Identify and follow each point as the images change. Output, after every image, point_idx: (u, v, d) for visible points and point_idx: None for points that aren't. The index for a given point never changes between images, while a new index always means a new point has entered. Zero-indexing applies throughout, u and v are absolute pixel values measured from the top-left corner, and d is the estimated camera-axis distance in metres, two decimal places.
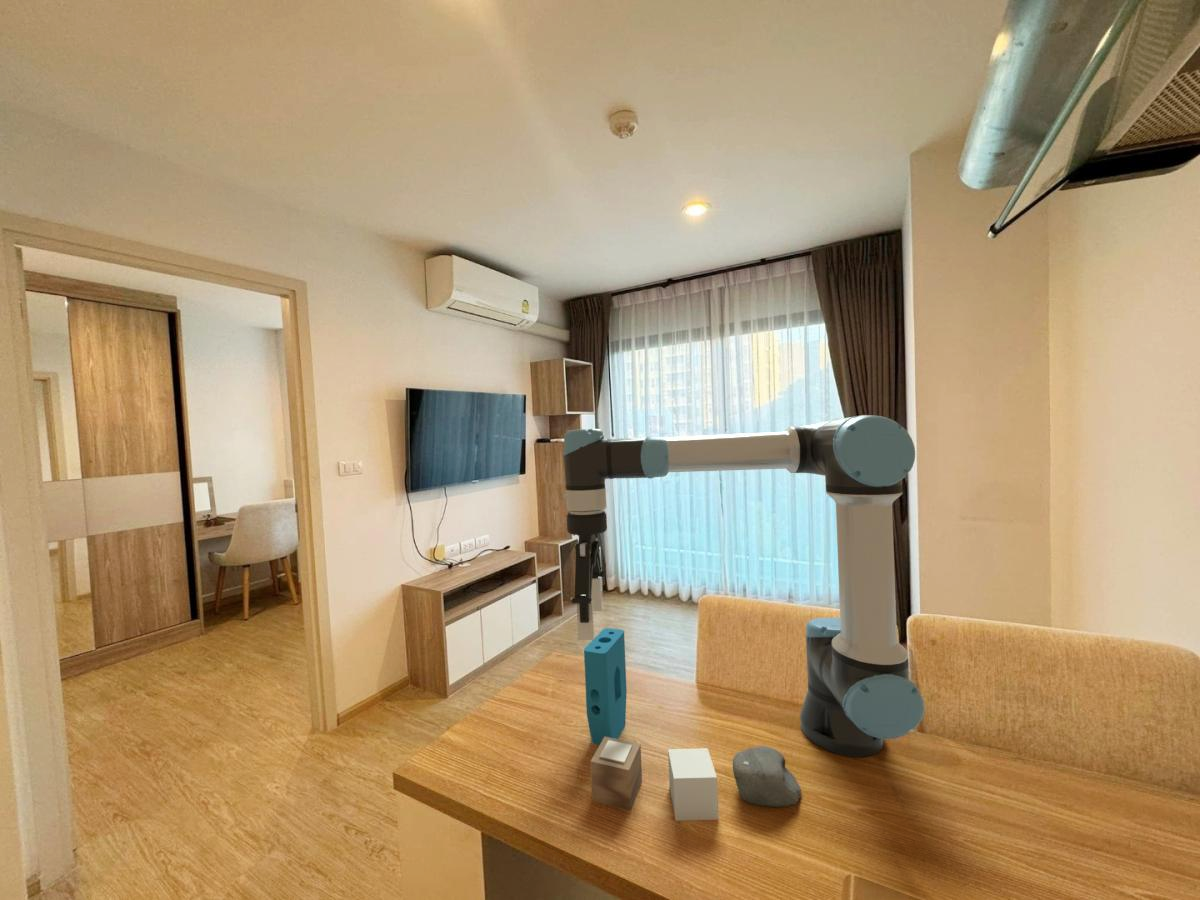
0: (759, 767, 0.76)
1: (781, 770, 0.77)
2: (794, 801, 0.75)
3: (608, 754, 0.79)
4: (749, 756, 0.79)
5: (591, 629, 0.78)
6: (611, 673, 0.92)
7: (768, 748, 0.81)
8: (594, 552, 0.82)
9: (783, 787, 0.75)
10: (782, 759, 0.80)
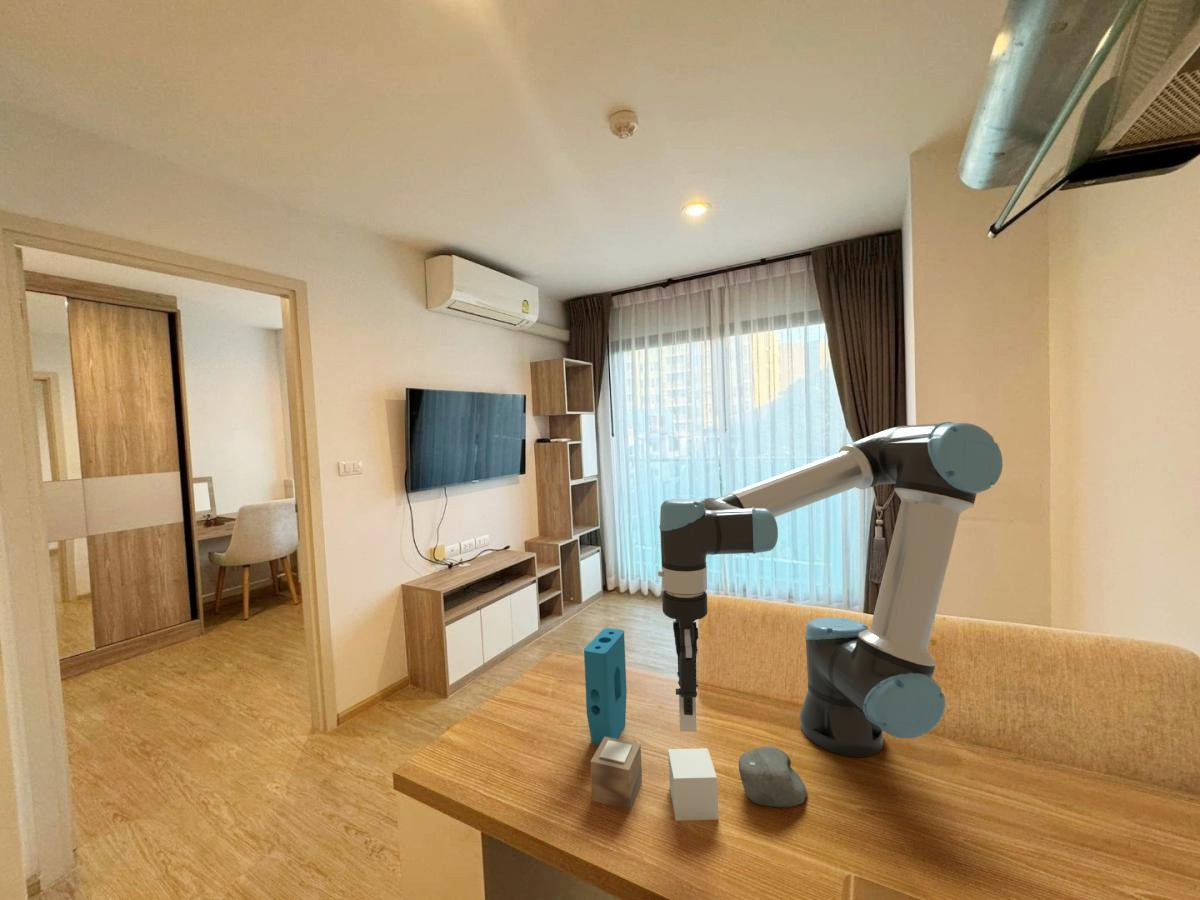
0: (765, 768, 0.76)
1: (787, 770, 0.77)
2: (800, 801, 0.75)
3: (608, 754, 0.79)
4: (755, 757, 0.79)
5: (694, 720, 0.76)
6: (611, 673, 0.92)
7: (773, 748, 0.81)
8: (695, 641, 0.75)
9: (790, 787, 0.75)
10: (788, 759, 0.80)
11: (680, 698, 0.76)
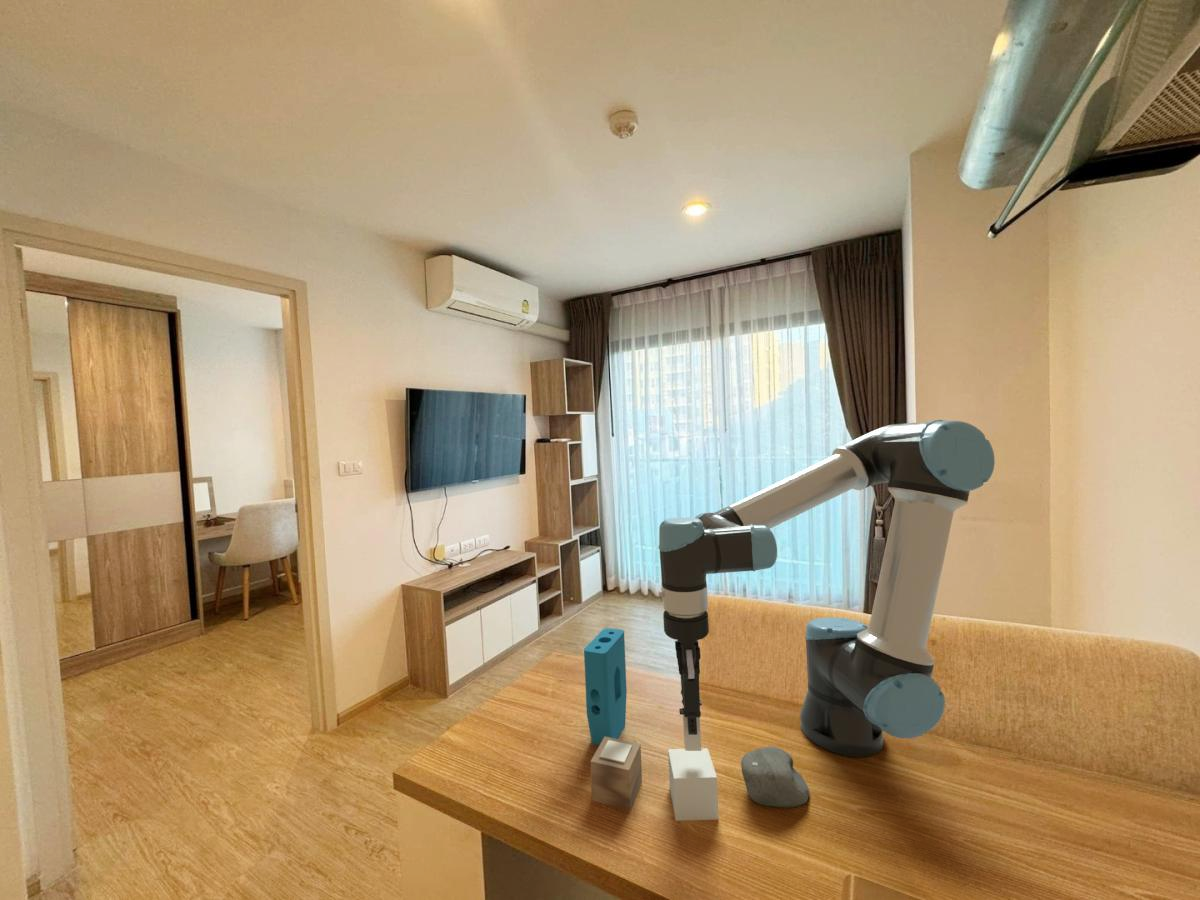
0: (768, 768, 0.76)
1: (790, 770, 0.77)
2: (803, 801, 0.75)
3: (608, 754, 0.79)
4: (758, 757, 0.79)
5: (698, 739, 0.76)
6: (611, 673, 0.92)
7: (776, 748, 0.81)
8: (698, 661, 0.75)
9: (792, 787, 0.75)
10: (790, 759, 0.80)
11: (684, 718, 0.76)
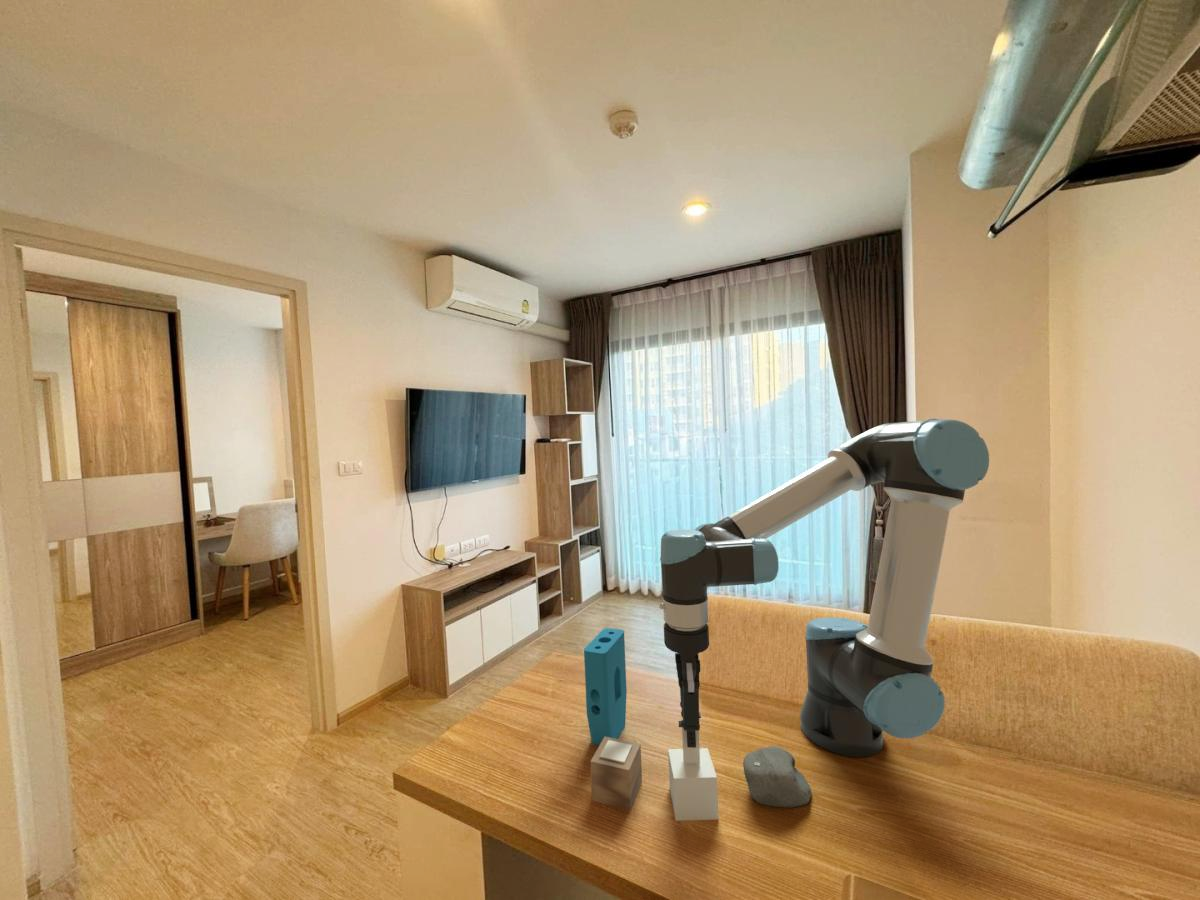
0: (770, 768, 0.76)
1: (792, 770, 0.77)
2: (805, 801, 0.75)
3: (608, 754, 0.79)
4: (760, 757, 0.79)
5: (697, 752, 0.76)
6: (611, 673, 0.92)
7: (778, 748, 0.81)
8: (698, 674, 0.75)
9: (795, 787, 0.75)
10: (792, 759, 0.80)
11: (683, 730, 0.76)
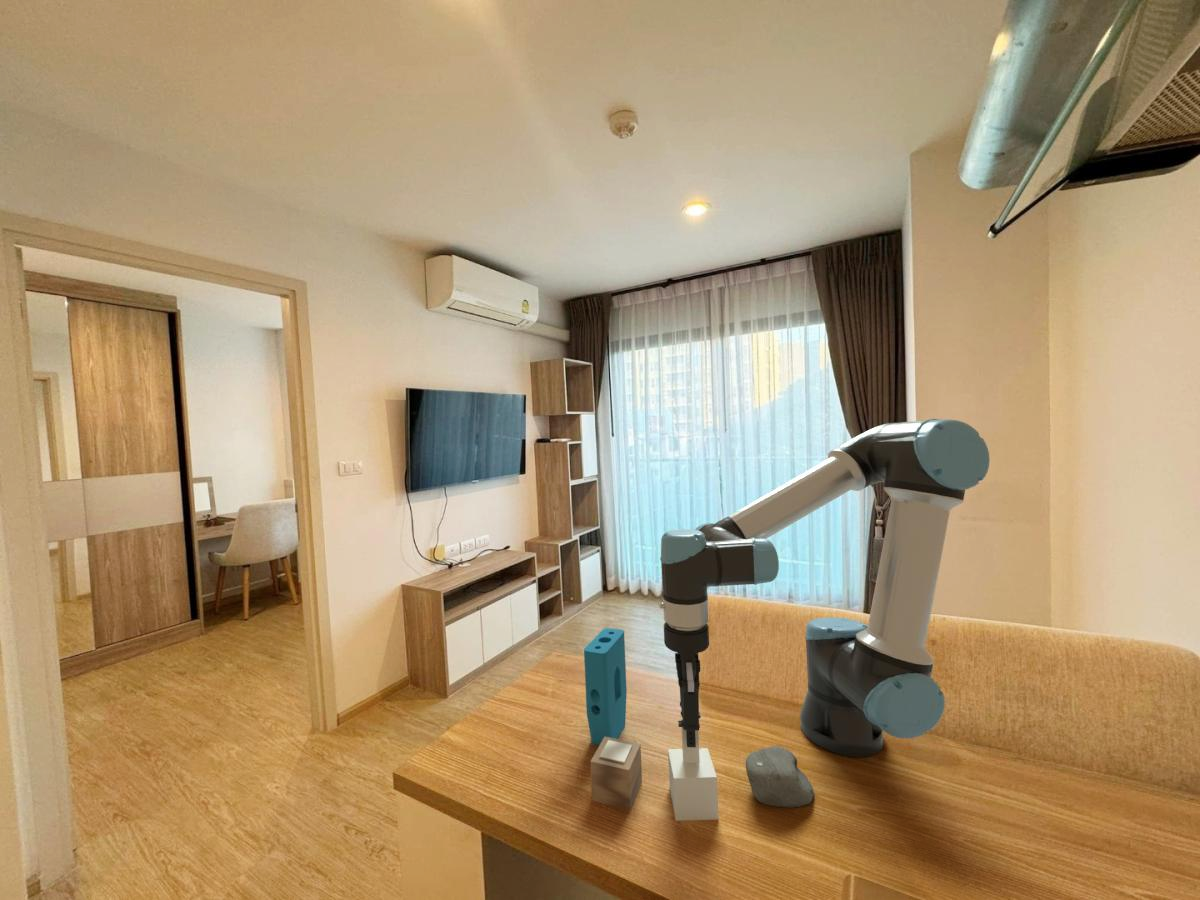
0: (773, 768, 0.76)
1: (794, 770, 0.77)
2: (808, 801, 0.75)
3: (608, 754, 0.79)
4: (762, 757, 0.79)
5: (697, 752, 0.76)
6: (611, 673, 0.92)
7: (780, 748, 0.81)
8: (697, 673, 0.75)
9: (797, 787, 0.75)
10: (794, 759, 0.80)
11: (683, 730, 0.76)
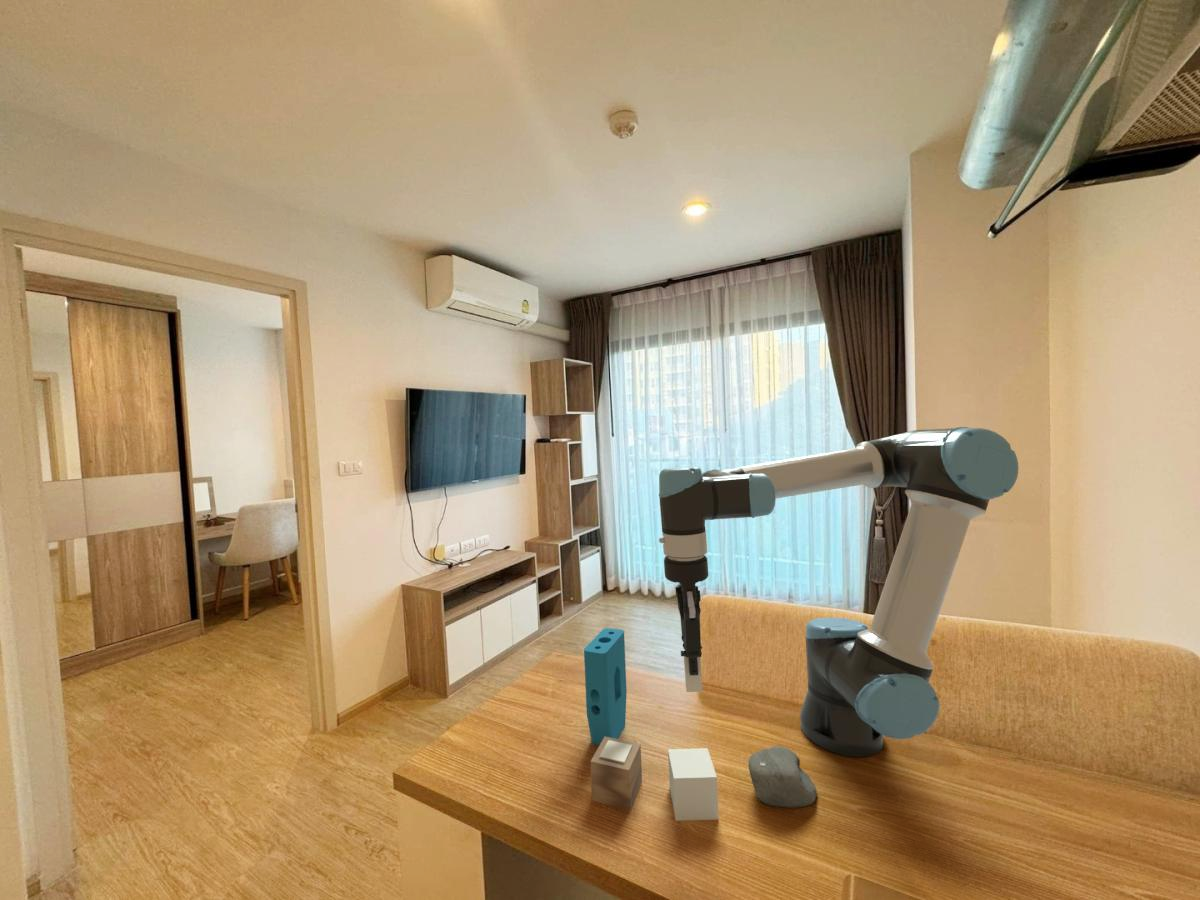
0: (776, 768, 0.76)
1: (797, 770, 0.77)
2: (811, 801, 0.75)
3: (608, 754, 0.79)
4: (765, 757, 0.79)
5: (699, 680, 0.78)
6: (611, 673, 0.92)
7: (783, 748, 0.81)
8: (698, 603, 0.77)
9: (800, 787, 0.75)
10: (797, 759, 0.80)
11: (685, 660, 0.78)
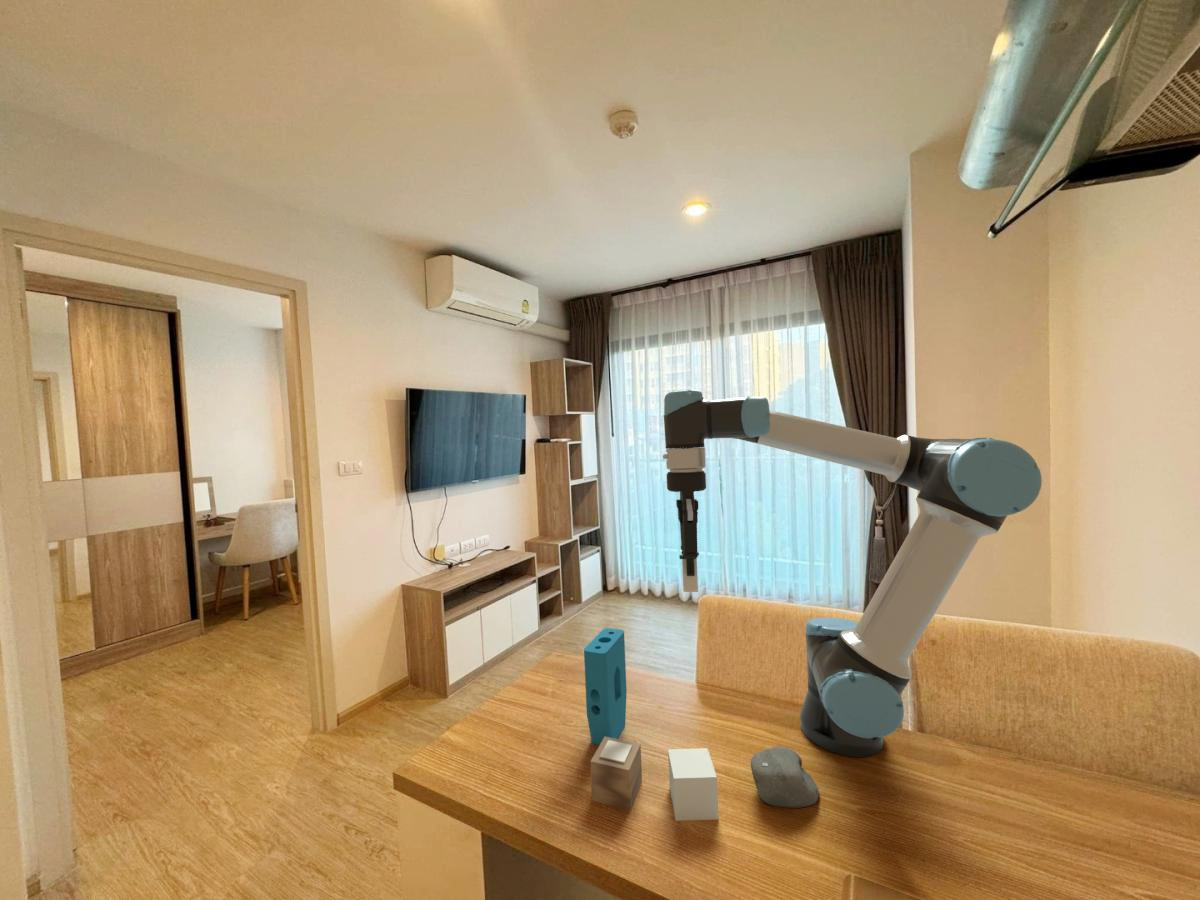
0: (778, 768, 0.76)
1: (800, 770, 0.77)
2: (814, 801, 0.75)
3: (608, 754, 0.79)
4: (767, 757, 0.79)
5: (695, 582, 0.87)
6: (611, 673, 0.92)
7: (785, 748, 0.81)
8: None
9: (803, 787, 0.75)
10: (799, 759, 0.80)
11: (683, 563, 0.88)
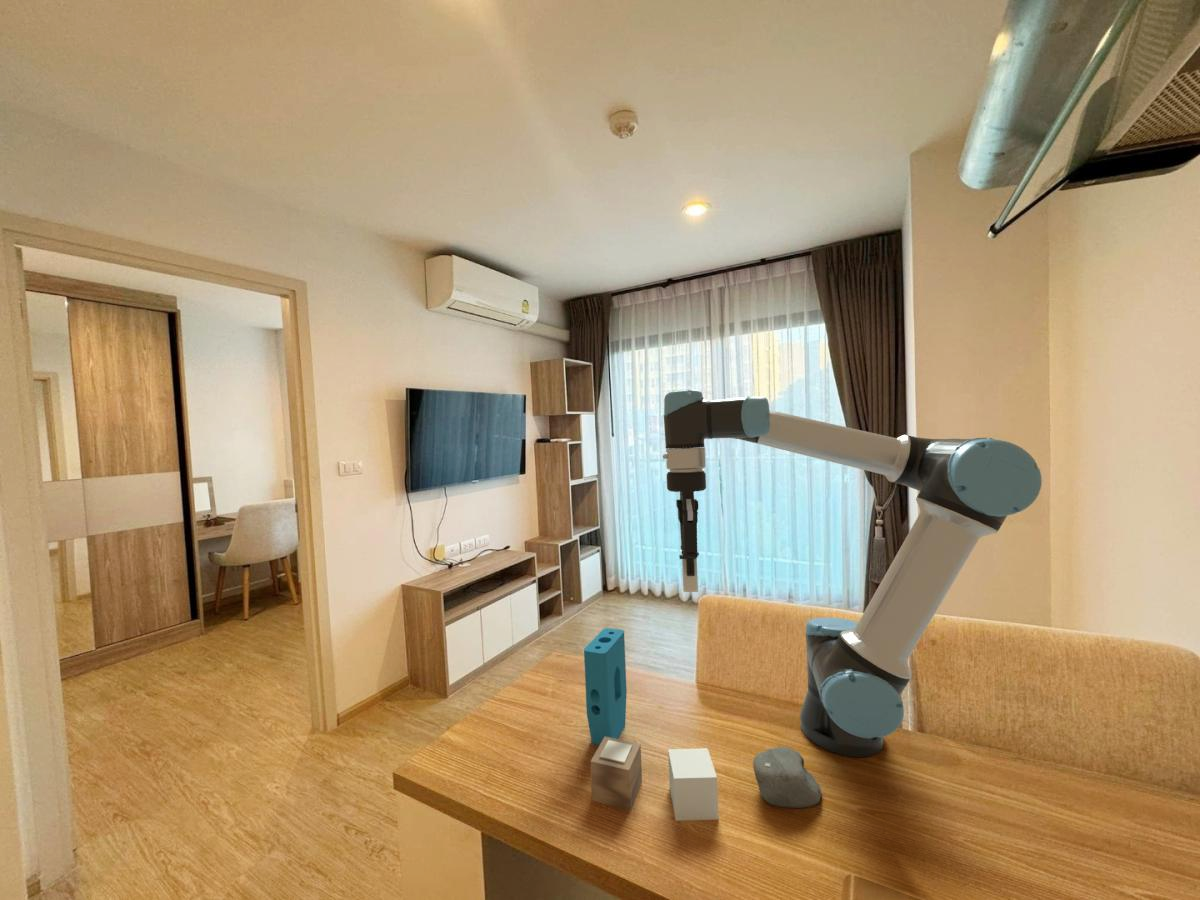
0: (781, 769, 0.76)
1: (802, 770, 0.77)
2: (816, 801, 0.75)
3: (608, 754, 0.79)
4: (770, 758, 0.79)
5: (695, 582, 0.87)
6: (611, 673, 0.92)
7: (787, 749, 0.81)
8: None
9: (806, 787, 0.75)
10: (801, 759, 0.80)
11: (683, 563, 0.88)
